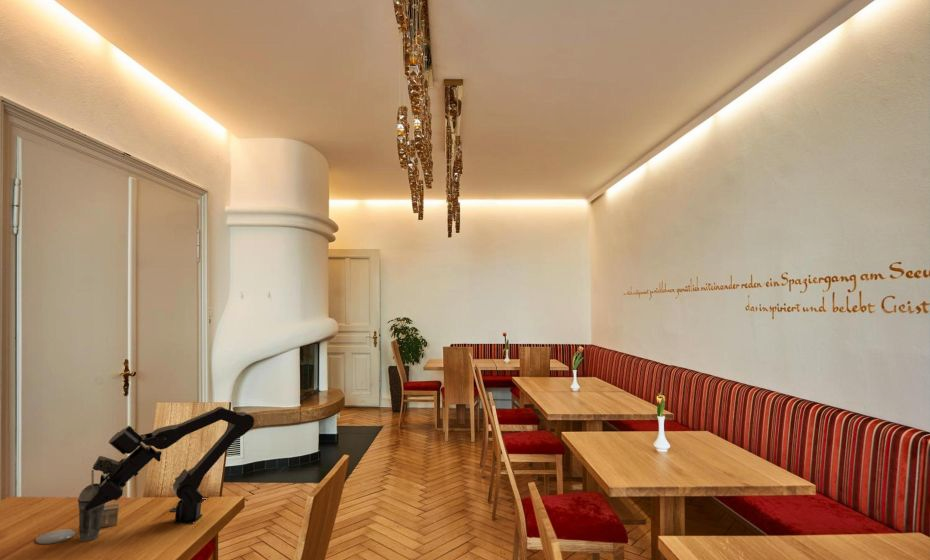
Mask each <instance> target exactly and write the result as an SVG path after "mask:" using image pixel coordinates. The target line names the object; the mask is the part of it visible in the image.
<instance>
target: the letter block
mask: <svg viewBox="0 0 930 560" xmlns="http://www.w3.org/2000/svg"><path fill="white" fill-rule="evenodd" d="M119 505H120V502H119V501H116V502H109V503H105V506H104V511H103V516H102V521H101V526H100V527H102V528H108V527H113V526H114V525H115V526H117V525H118V516H119ZM107 526H108V527H107ZM115 526H114V527H115Z"/></svg>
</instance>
